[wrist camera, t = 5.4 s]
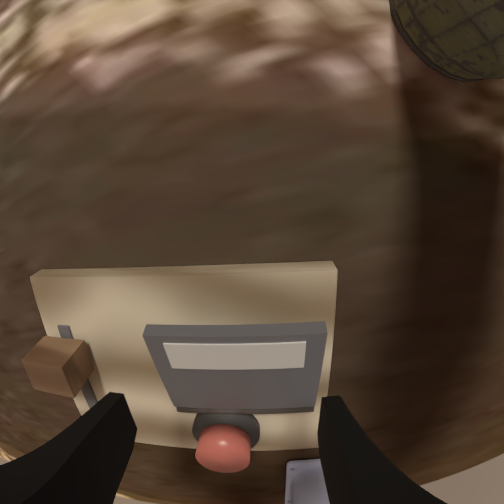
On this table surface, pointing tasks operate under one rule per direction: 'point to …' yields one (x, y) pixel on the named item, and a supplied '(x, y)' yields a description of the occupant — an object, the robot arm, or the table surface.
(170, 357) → the paddle switch
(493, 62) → the thermos
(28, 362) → the slider knob
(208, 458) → the push button
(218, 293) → the control panel
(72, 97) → the table surface
